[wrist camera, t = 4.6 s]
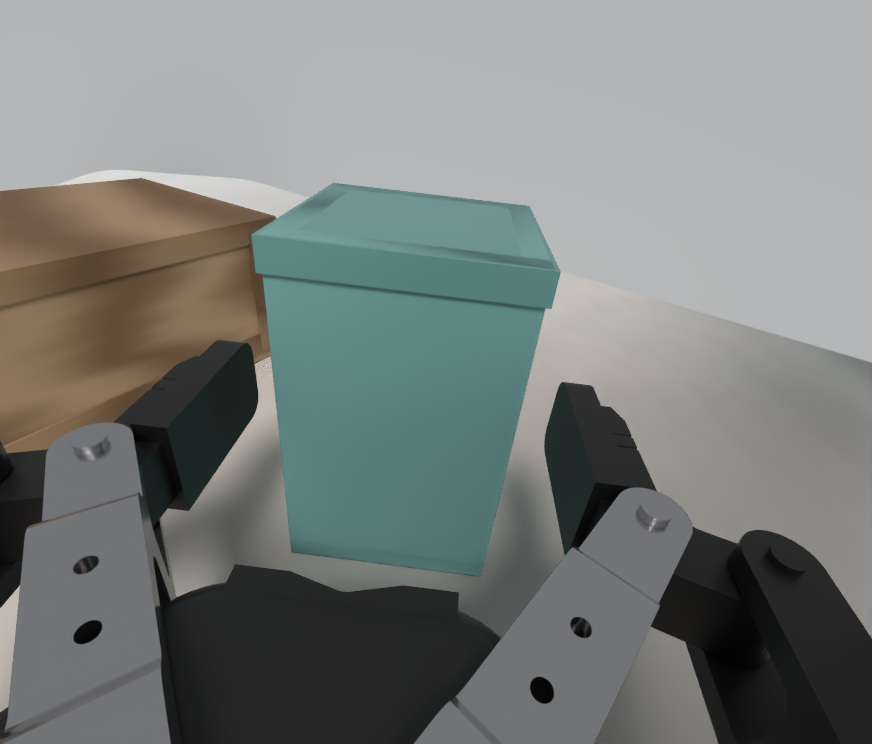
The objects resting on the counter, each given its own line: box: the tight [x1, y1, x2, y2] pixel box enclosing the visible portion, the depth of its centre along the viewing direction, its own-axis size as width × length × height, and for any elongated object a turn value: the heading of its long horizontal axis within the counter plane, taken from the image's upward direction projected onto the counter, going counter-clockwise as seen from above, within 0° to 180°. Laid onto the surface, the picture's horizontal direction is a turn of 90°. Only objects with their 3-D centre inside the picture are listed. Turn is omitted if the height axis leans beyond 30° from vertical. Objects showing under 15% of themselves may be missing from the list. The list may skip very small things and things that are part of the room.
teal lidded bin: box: [251, 183, 560, 576], centre depth 14 cm, size 6×6×10 cm
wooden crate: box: [0, 178, 276, 453], centre depth 20 cm, size 14×10×7 cm
